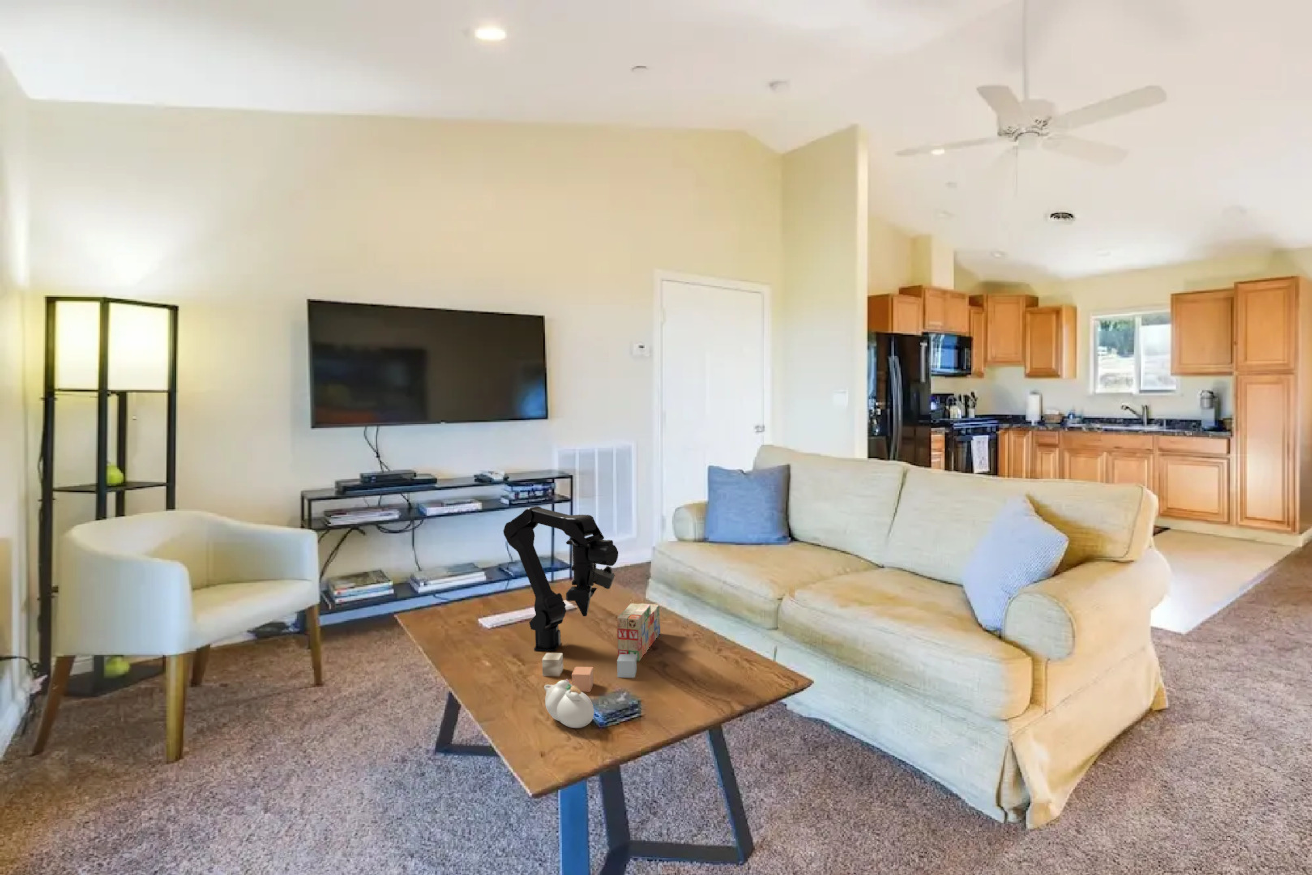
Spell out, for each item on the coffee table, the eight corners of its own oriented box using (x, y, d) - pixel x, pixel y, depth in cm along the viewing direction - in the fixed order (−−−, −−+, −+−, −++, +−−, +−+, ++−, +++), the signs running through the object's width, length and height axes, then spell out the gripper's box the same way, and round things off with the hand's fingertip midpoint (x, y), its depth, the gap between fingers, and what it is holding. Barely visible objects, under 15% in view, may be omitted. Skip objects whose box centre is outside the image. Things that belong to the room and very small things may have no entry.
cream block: (542, 676, 176) (542, 659, 175) (546, 668, 180) (546, 652, 180) (559, 676, 175) (558, 659, 175) (563, 669, 180) (562, 653, 179)
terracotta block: (572, 691, 166) (571, 674, 166) (576, 683, 171) (575, 666, 170) (590, 692, 166) (589, 674, 165) (593, 684, 170) (592, 667, 170)
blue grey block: (617, 677, 174) (616, 660, 173) (619, 670, 178) (619, 653, 178) (634, 677, 173) (634, 661, 173) (636, 670, 178) (636, 654, 177)
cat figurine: (594, 689, 146) (551, 664, 156) (569, 719, 142) (526, 691, 151) (608, 715, 151) (565, 689, 161) (585, 744, 147) (542, 715, 156)
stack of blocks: (641, 632, 205) (640, 593, 204) (660, 634, 204) (659, 594, 203) (617, 659, 185) (616, 616, 184) (639, 662, 183) (638, 618, 182)
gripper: (606, 570, 175) (607, 628, 176) (617, 552, 193) (618, 605, 194) (564, 570, 176) (566, 627, 177) (579, 552, 194) (581, 604, 195)
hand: (585, 615), depth 186 cm, fingers closed
